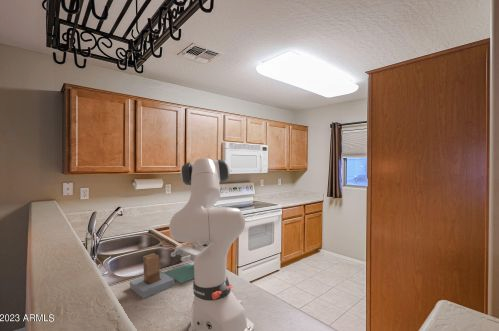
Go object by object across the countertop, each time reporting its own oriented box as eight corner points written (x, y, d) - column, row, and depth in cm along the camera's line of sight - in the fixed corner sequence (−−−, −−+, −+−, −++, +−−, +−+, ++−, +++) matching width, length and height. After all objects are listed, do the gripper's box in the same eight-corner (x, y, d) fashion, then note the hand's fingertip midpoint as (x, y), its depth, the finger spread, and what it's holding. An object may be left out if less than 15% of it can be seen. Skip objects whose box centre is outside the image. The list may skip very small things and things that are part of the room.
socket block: (174, 285, 109) (174, 278, 109) (143, 299, 98) (142, 291, 98) (159, 276, 118) (159, 270, 118) (130, 288, 108) (129, 281, 108)
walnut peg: (160, 286, 108) (158, 255, 108) (149, 290, 105) (147, 259, 105) (155, 282, 112) (153, 253, 112) (144, 287, 108) (143, 256, 108)
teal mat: (206, 272, 120) (206, 271, 120) (181, 283, 110) (181, 282, 110) (188, 264, 131) (188, 263, 131) (164, 273, 121) (164, 273, 121)
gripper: (188, 239, 135) (165, 246, 125) (211, 247, 121) (187, 255, 111) (189, 250, 135) (166, 258, 125) (211, 259, 121) (187, 269, 111)
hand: (176, 257), depth 118 cm, fingers open, 8 cm apart
